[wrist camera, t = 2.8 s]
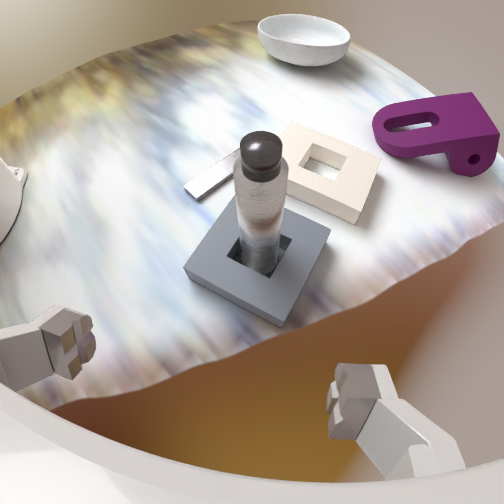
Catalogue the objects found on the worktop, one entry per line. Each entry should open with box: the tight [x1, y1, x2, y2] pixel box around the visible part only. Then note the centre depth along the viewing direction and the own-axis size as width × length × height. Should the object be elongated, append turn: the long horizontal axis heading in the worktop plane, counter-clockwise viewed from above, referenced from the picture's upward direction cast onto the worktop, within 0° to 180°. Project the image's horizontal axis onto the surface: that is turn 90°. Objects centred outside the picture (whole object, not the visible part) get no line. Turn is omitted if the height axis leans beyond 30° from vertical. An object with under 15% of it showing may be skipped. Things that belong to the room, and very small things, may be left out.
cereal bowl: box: [258, 14, 350, 66], centre depth 46 cm, size 17×17×7 cm
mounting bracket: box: [372, 92, 500, 177], centre depth 36 cm, size 9×8×18 cm
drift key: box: [184, 148, 241, 202], centre depth 35 cm, size 10×2×1 cm, turn 134°
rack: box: [279, 122, 381, 225], centre depth 34 cm, size 12×9×2 cm
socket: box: [183, 194, 331, 328], centre depth 29 cm, size 10×10×2 cm
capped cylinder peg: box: [233, 131, 289, 275], centre depth 23 cm, size 3×3×15 cm
